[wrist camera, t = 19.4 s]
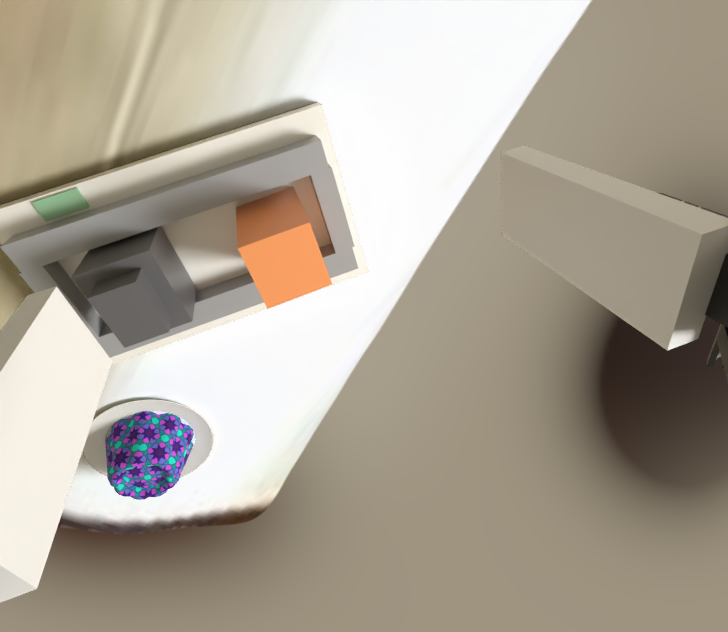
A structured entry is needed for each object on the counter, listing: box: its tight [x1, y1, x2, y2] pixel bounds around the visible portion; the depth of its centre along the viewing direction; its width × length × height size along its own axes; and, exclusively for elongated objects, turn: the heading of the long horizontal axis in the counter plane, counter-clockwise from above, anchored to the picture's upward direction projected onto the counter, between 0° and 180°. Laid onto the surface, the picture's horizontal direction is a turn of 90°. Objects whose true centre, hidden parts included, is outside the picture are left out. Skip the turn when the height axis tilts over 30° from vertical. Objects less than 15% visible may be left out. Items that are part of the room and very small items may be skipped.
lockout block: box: [236, 187, 332, 309], centre depth 30 cm, size 5×5×8 cm
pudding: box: [83, 400, 214, 500], centre depth 41 cm, size 12×12×5 cm
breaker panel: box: [0, 102, 368, 365], centre depth 33 cm, size 24×14×4 cm, turn 104°
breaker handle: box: [71, 226, 197, 348], centre depth 30 cm, size 5×6×7 cm
